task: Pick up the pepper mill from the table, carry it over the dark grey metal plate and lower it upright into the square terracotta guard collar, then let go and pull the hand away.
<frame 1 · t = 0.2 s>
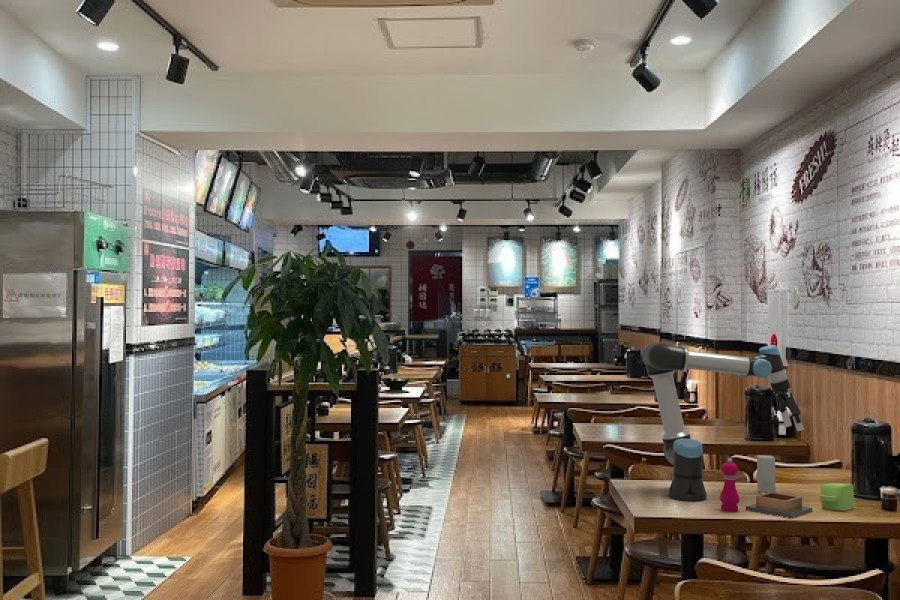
hand: (794, 428, 360), 28 cm above the table, tool tilted 20°, fingers open, 13 cm apart
skincare box: (765, 493, 360), on the table
green bread box: (836, 508, 333), on the table
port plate: (778, 510, 325), on the table
pepper mill: (729, 510, 325), on the table
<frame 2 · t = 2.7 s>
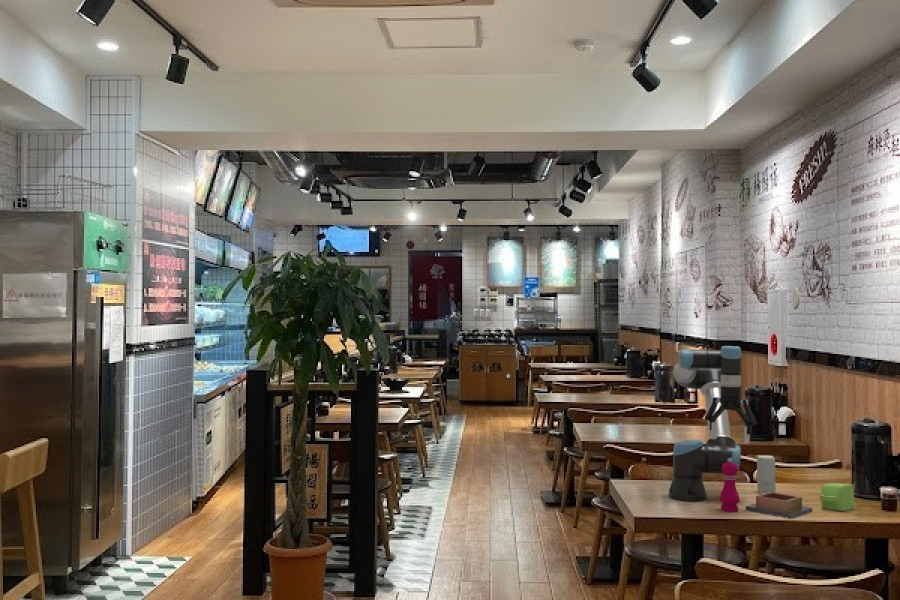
hand: (730, 441, 326), 27 cm above the table, tool pointing down, fingers open, 13 cm apart
nothing on the table moved.
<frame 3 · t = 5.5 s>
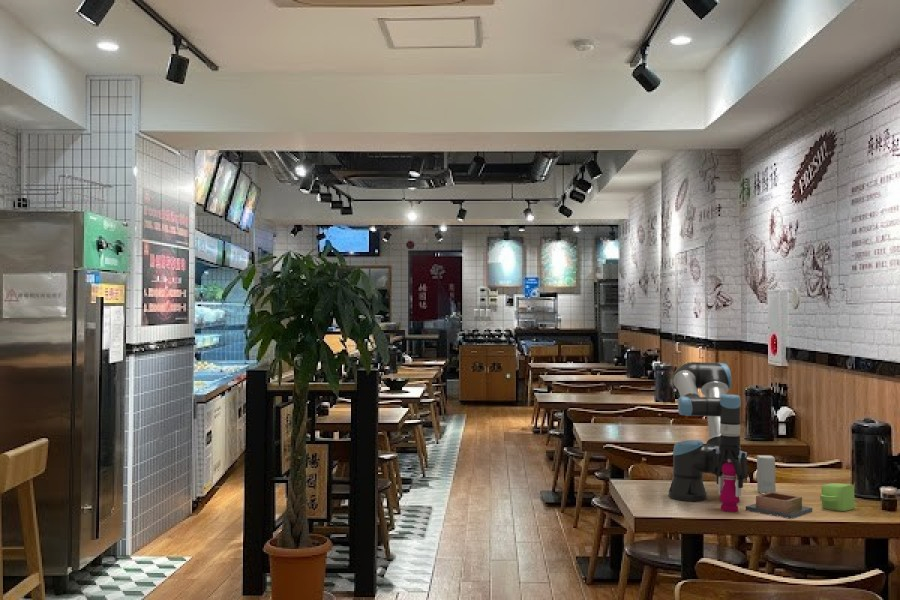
hand: (729, 494, 325), 6 cm above the table, tool pointing down, fingers closed on pepper mill, 6 cm apart
pepper mill: (729, 510, 325), on the table, touching gripper
everything else where it was.
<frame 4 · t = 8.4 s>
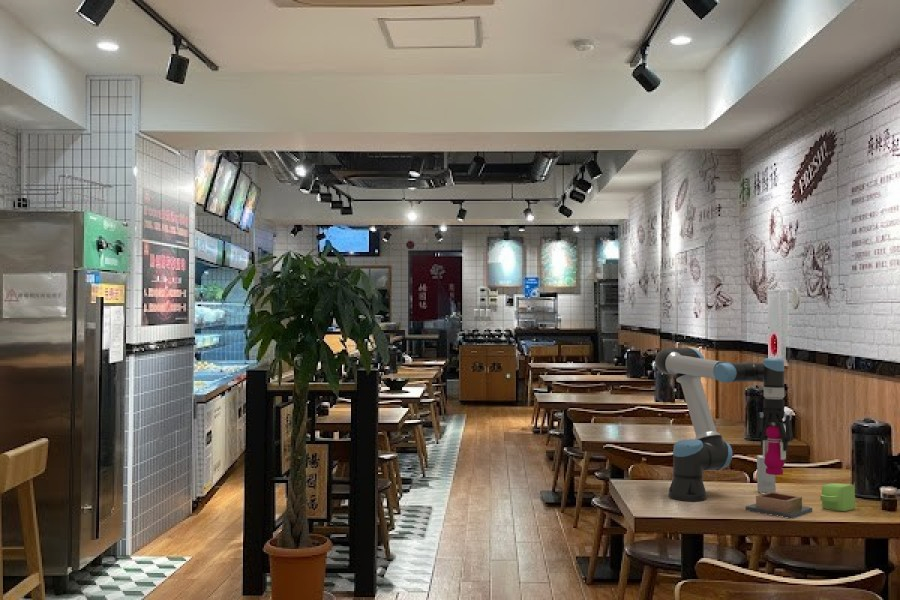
hand: (774, 458, 325), 20 cm above the table, tool pointing down, fingers closed on pepper mill, 6 cm apart
pepper mill: (774, 474, 325), point 14 cm above the table, touching gripper
everything else where it was.
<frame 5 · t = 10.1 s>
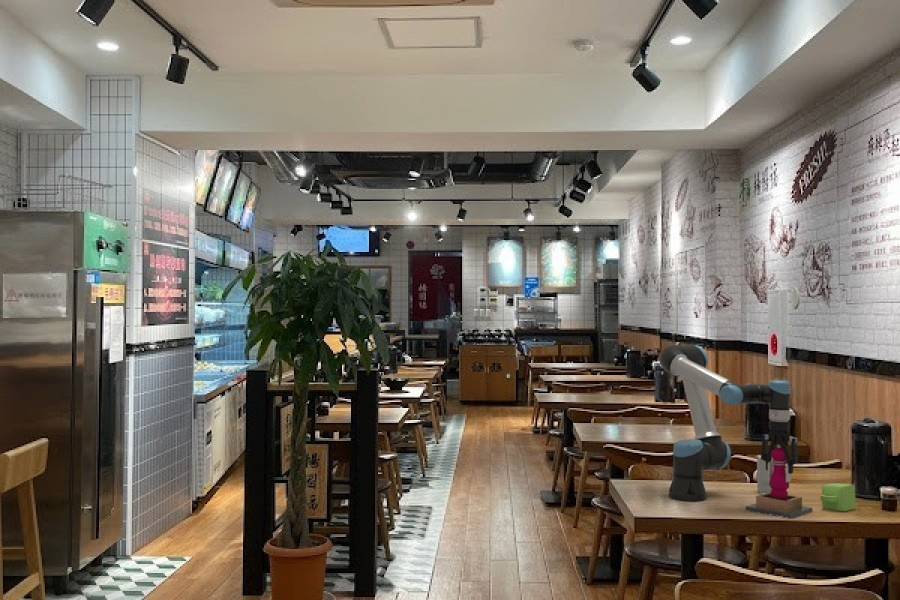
hand: (779, 480, 325), 12 cm above the table, tool pointing down, fingers closed on pepper mill, 6 cm apart
pepper mill: (779, 496, 325), point 6 cm above the table, touching gripper
everything else where it was.
when the fingers open (9 cm above the table, at t = 11.3 s): pepper mill drops 2 cm, resting on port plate.
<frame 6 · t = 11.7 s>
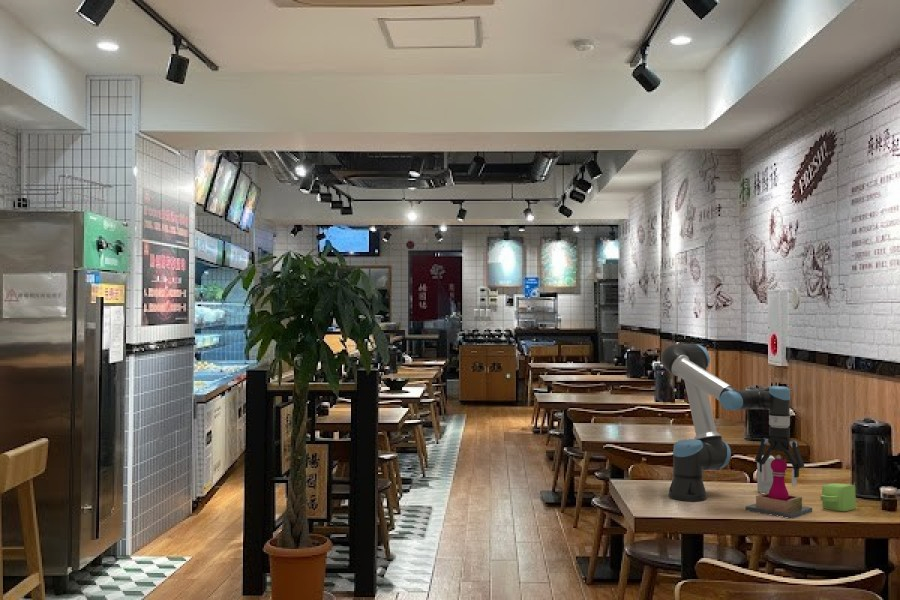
hand: (779, 483, 325), 11 cm above the table, tool pointing down, fingers open, 11 cm apart
pepper mill: (778, 507, 325), point 1 cm above the table, touching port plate
everything else where it was.
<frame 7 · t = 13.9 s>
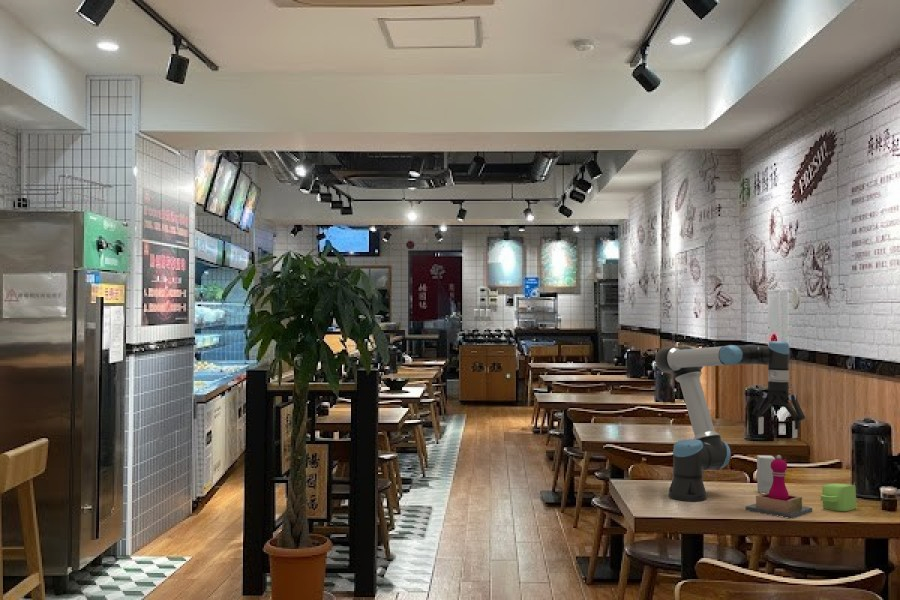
hand: (777, 435, 327), 29 cm above the table, tool pointing down, fingers open, 13 cm apart
nothing on the table moved.
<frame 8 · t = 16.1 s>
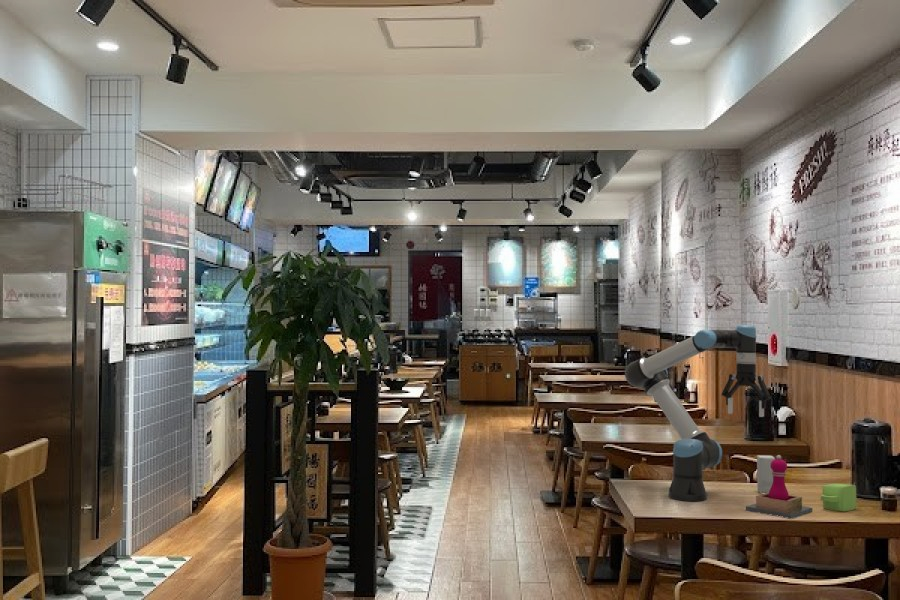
hand: (745, 415, 345), 35 cm above the table, tool pointing down, fingers open, 13 cm apart
at the end: pepper mill 0.1 cm off-centre on the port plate, point 1.3 cm above the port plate's base; pepper mill tilted 0°; the gripper is holding nothing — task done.
